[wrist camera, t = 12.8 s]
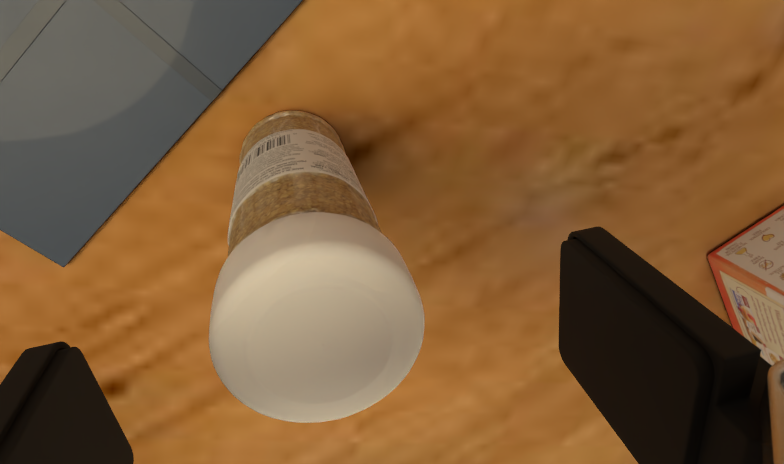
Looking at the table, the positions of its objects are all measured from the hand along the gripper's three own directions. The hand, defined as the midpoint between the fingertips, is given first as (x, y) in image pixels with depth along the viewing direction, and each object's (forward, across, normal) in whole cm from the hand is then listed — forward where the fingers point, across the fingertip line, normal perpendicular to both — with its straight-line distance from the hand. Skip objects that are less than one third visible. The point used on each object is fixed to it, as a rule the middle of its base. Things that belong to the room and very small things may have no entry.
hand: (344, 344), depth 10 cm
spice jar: (+14, +1, 0) cm, 14 cm away
